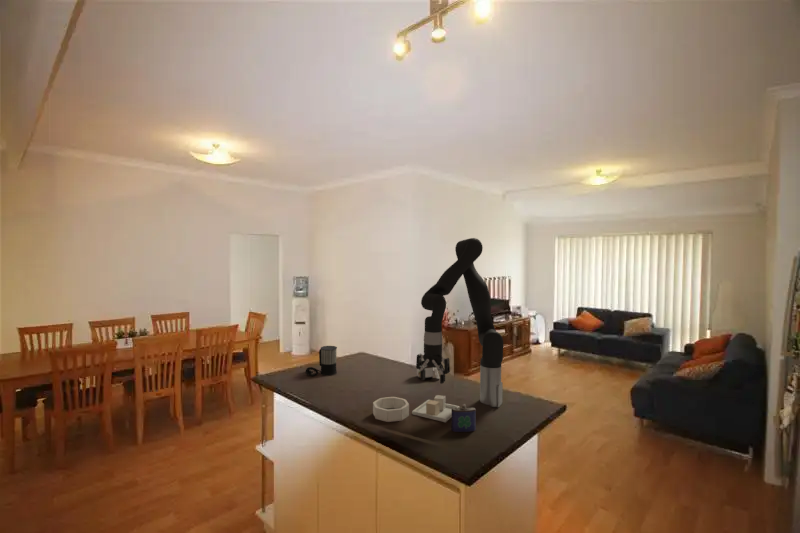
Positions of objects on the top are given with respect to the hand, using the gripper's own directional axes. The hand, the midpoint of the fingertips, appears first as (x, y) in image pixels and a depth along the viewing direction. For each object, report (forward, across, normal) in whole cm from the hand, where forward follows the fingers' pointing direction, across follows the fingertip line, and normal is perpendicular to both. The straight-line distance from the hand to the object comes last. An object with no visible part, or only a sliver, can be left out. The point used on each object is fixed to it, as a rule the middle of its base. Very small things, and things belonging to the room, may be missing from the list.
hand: (432, 381), depth 153 cm
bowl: (+15, +15, +9) cm, 22 cm away
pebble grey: (+14, 0, -7) cm, 15 cm away
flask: (+15, -16, +6) cm, 23 cm away
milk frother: (+15, +79, -19) cm, 82 cm away
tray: (+15, 0, -4) cm, 15 cm away
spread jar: (+15, +24, -44) cm, 53 cm away
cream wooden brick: (+14, 0, 0) cm, 14 cm away
